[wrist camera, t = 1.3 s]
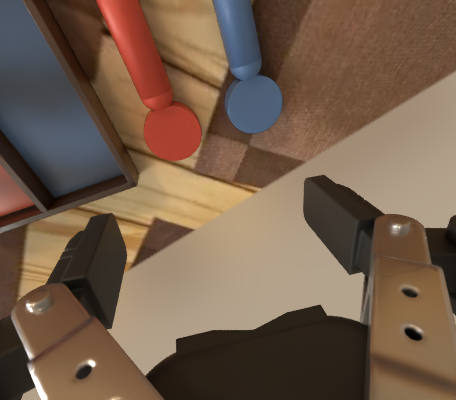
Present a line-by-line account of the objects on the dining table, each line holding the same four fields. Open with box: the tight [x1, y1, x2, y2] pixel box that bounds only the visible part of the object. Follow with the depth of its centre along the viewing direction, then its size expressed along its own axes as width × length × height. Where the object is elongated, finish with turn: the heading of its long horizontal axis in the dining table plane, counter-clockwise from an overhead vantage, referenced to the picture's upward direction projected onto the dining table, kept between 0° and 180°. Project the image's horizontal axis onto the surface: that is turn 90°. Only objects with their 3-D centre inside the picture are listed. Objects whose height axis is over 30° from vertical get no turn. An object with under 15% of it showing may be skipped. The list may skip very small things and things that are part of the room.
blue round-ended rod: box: [212, 0, 283, 134], centre depth 22 cm, size 17×5×3 cm, turn 16°
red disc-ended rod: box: [96, 0, 202, 161], centre depth 22 cm, size 17×5×3 cm, turn 16°
